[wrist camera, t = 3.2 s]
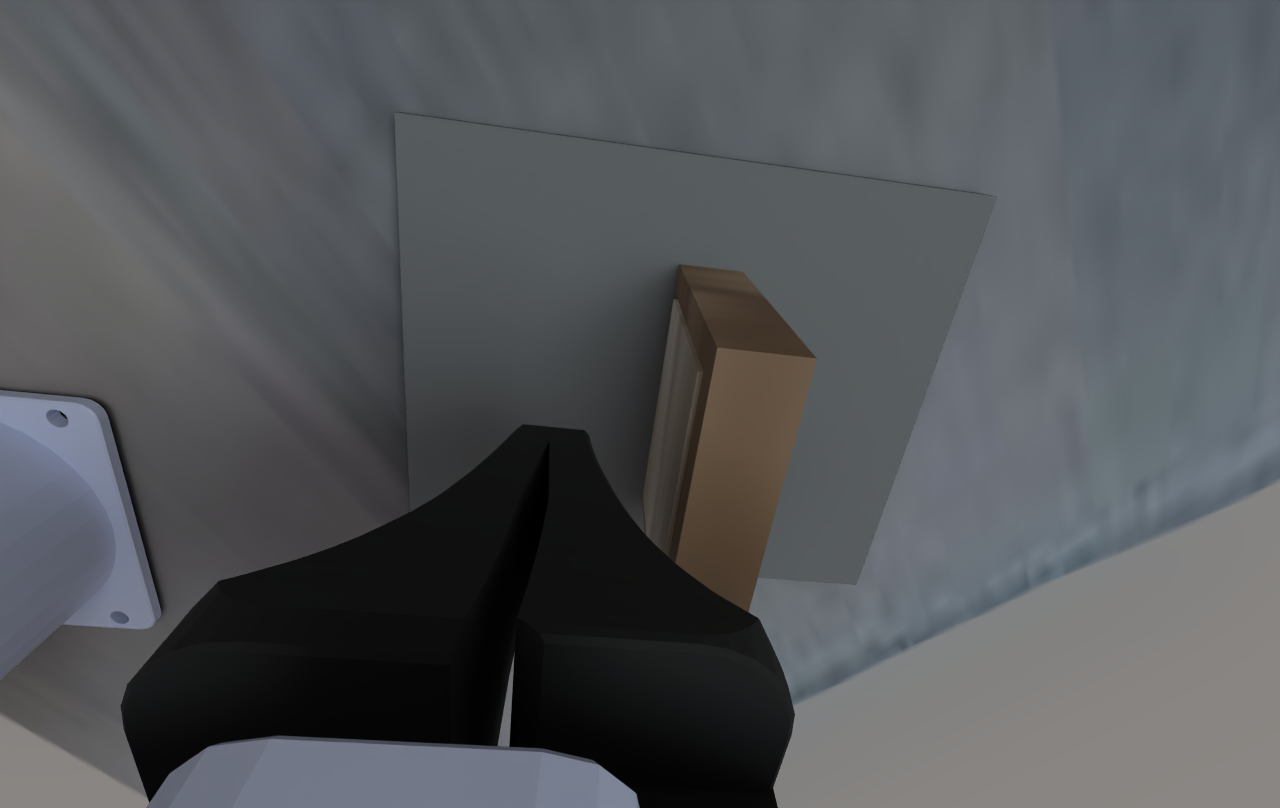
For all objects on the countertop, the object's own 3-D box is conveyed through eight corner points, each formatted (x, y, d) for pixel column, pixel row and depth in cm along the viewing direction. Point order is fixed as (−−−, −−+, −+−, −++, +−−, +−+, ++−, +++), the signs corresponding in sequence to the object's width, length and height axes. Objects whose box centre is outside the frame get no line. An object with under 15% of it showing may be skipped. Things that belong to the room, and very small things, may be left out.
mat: (417, 538, 19) (411, 551, 18) (402, 112, 14) (394, 111, 13) (849, 572, 20) (856, 584, 19) (983, 193, 15) (996, 196, 14)
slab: (638, 500, 18) (649, 669, 12) (675, 263, 15) (711, 347, 9) (695, 505, 18) (731, 674, 12) (742, 271, 15) (817, 358, 9)
